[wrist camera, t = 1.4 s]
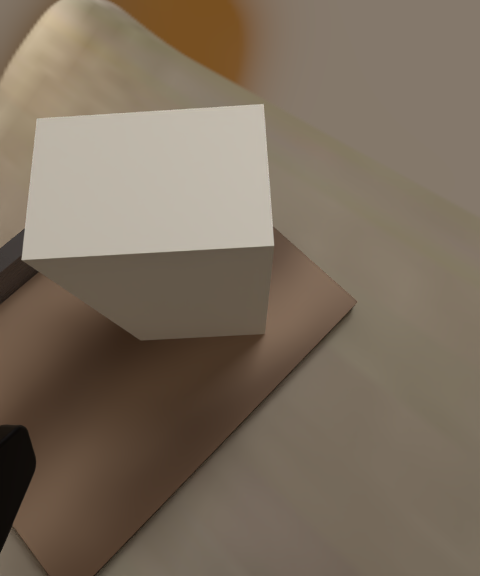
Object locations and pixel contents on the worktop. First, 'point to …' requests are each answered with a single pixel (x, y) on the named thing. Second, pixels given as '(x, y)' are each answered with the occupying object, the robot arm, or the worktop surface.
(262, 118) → the carton
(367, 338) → the worktop surface
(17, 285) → the rail
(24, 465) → the robot arm
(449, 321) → the worktop surface
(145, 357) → the shelf board
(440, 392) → the worktop surface
